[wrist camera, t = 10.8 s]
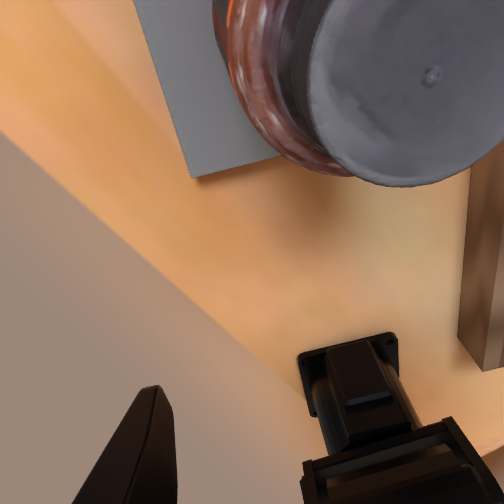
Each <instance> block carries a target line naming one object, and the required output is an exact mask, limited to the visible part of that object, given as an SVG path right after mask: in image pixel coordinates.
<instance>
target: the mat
mask: <svg viewBox="0 0 504 504" xmlns="http://www.w3.org/2000/svg"><path fill="white" fill-rule="evenodd" d="M133 2H134V5H135V8H136V11H137V14H138V17H139V20H140V23H141V26H142V29H143V32H144V35H145V38H146V41H147V44H148V47H149V50H150V53H151V57H152V60H153V63H154V66H155V69H156V72H157V75H158V78H159V81H160V84H161V87H162V90H163V93H164V96H165V99H166V102H167V105H168V109H169V112H170V115H171V118H172V121H173V124H174V127H175V130H176V133H177V136H178V139H179V142H180V145H181V148H182V151H183V154H184V157H185V161H186V164H187V167H188V170H189V173H190V176H191V178H195V177H198V176H202V175H206V174H210V173H214V172H218V171H222V170H226V169H230V168H234V167H238V166H242V165H246V164H250V163H254V162H258V161H261V160H265V159H269V158H273V157H277V156H281V155H282V154H280V153H279V152H277V151H276V150H275V149H274V148H273V147H272V146H271V145H269V143H268V142H267V141H266V140H265V139H264V138H263V137H262V136H261V134H260V133H259V132H258V131H257V130H256V128H255V127H254V126H253V124H252V123H251V121H250V120H249V118H248V117H247V115H246V113H245V111H244V110H243V107H242V105H241V103H240V101H239V99H238V96H237V94H236V91H235V89H234V87H233V84H232V82H231V79H230V76H229V74H228V71H227V69H226V66H225V63H224V61H223V59H222V56H221V53H220V50H219V48H218V46H217V42H216V39H215V34H214V27H213V19H212V0H133Z"/></svg>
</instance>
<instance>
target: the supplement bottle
mask: <svg viewBox="0 0 504 504" xmlns="http://www.w3.org/2000/svg"><path fill="white" fill-rule="evenodd" d="M212 19H213V27H214V34H215V39H216V42H217V46H218V48H219V50H220V53H221V56H222V59H223V61H224V63H225V66H226V69H227V71H228V74H229V76H230V79H231V82H232V84H233V87H234V89H235V91H236V94H237V96H238V99H239V101H240V103H241V105H242V107H243V110H244V111H245V113H246V115H247V117H248V118H249V120H250V121H251V123H252V124H253V126H254V127H255V128H256V130H257V131H258V132H259V133H260V134H261V136H262V137H263V138H264V139H265V140H266V141H267V142H268V143H269V145H271V146H272V147H273V148H274V149H275V150H276V151H277V152H279V153H280V154H282V155H283V156H284V157H285V158H287V159H288V160H290V161H292V162H294V163H295V164H298V165H300V166H302V167H305V168H307V169H309V170H312V171H316V172H319V173H322V174H329V175H335V176H343V177H352V176H356V177H358V178H360V179H362V180H364V181H367V182H371V183H373V184H376V185H382V186H386V187H400V188H401V187H416V186H421V185H428V184H433V183H436V182H439V181H442V180H444V179H446V178H449V177H451V176H453V175H455V174H457V173H459V172H461V171H464V170H466V169H468V168H469V167H470V166H472V165H473V164H474V163H476V162H477V161H479V160H481V159H482V158H483V157H484V156H486V155H487V154H488V153H489V152H491V151H492V150H493V149H494V148H495V147H496V146H497V145H498V144H499V143H500V142H502V141H503V140H504V0H212Z"/></svg>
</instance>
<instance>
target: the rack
mask: <svg viewBox="0 0 504 504" xmlns="http://www.w3.org/2000/svg"><path fill="white" fill-rule="evenodd" d="M457 337H458V338H459V340H460V341H461V342H462V344H463V345H464V347H465V348H466V349H467V351H468V352H469V354H470V355H471V356H472V358H473V359H474V361H475V362H476V364H477V365H478V366H479V368H480V369H481V371H482V372H484V371H488V370H493V369H497V368H501V367H504V140H503V141H502V142H500V143H499V144H498V145H497V146H496V147H495V148H494V149H493V150H492V151H491V152H489V153H488V154H487V155H486V156H484V157H483V158H482V159H481V160H479V161H477V162H476V163H474V164H473V165H472V166H471V178H470V191H469V203H468V215H467V227H466V239H465V251H464V263H463V275H462V287H461V299H460V312H459V324H458V336H457Z"/></svg>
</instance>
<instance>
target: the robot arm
mask: <svg viewBox="0 0 504 504" xmlns="http://www.w3.org/2000/svg"><path fill="white" fill-rule="evenodd" d="M304 360H305V361H304ZM297 362H298V366H299V371H300V375H301V379H302V383H303V388H304V392H305V396H306V400H307V405H308V409H309V413H310V416H312V417H318V419H319V422H320V426H321V430H322V434H323V437H324V440H325V444H326V448H327V452H328V455H329V456H326V457H323V458H320V459H317V460H313V461H312V460H307V461H304V462H303V463H302V464H303V470H304V476H302V479H301V480H300V486H301V490H302V495H303V500H304V504H504V493H503V491H502V489H501V488H500V486H499V484H498V483H497V481H496V479H495V478H494V476H493V475H492V473H491V472H490V470H489V469H488V467H487V466H486V465H485V463H484V462H483V460H482V459H481V457H480V456H479V454H478V453H477V452H476V450H475V449H474V447H473V446H472V444H471V443H470V442H469V440H468V439H467V437H466V436H465V435H464V433H463V432H462V430H461V429H460V427H459V426H458V425H457V423H456V422H455V420H454V419H453V418H452V416H450V417H447V418H443V419H442V421H440V422H437V423H433V424H430V425H427V426H424V427H423V426H422V424H421V422H420V420H419V418H418V416H417V414H416V412H415V410H414V408H413V406H412V404H411V402H410V400H409V398H408V396H407V394H406V392H405V390H404V388H403V386H402V384H401V382H400V380H399V358H398V339H397V337H396V335H395V334H394V333H393V332H387V333H383V334H379V335H374V336H370V337H366V338H362V339H358V340H354V341H350V342H346V343H341V344H337V345H333V346H329V347H325V348H321V349H317V350H313V351H308V352H304V353H301V354H300V355H298V357H297ZM177 488H178V484H177V465H176V450H175V432H174V417H173V411H172V407H171V405H170V403H169V401H168V399H167V397H166V395H165V393H164V391H163V389H162V387H161V386H160V385H154V386H150V387H146V388H143V389H141V390H140V391H139V393H138V394H137V396H136V398H135V399H134V401H133V403H132V404H131V406H130V408H129V409H128V411H127V413H126V414H125V416H124V418H123V419H122V421H121V423H120V424H119V426H118V428H117V429H116V431H115V432H114V434H113V436H112V438H111V439H110V441H109V442H108V444H107V446H106V447H105V449H104V451H103V452H102V454H101V456H100V457H99V459H98V461H97V462H96V464H95V466H94V467H93V469H92V471H91V472H90V474H89V476H88V477H87V479H86V481H85V482H84V484H83V486H82V488H81V489H80V491H79V492H78V494H77V496H76V497H75V499H74V501H73V502H72V504H177Z"/></svg>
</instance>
